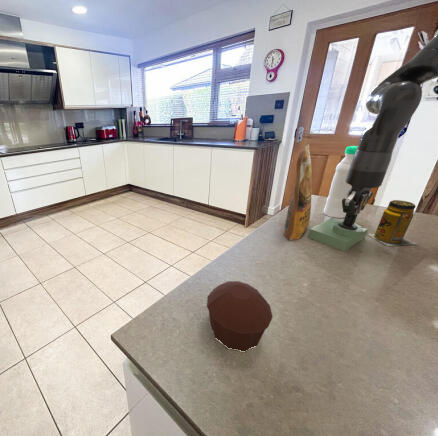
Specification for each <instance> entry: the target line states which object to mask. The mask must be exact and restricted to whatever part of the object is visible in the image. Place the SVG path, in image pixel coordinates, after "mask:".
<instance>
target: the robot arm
mask: <svg viewBox="0 0 438 436" xmlns="http://www.w3.org/2000/svg"><path fill="white" fill-rule="evenodd" d="M437 78H438V33H437V34H436V35H435V36H433V37H432V38H431V39H430V40H429V41H428V42H427V43H426V44H425V45H424V46H423V47H422V48H421V49H419V51H417V52H416V54H415V55H414V56H413V57H412V58H411V59H410V60H408V61H407V62H406V63H404V64H403V65H401V66H400V67H399V68H397V69H396V70H395V71H393V73H391V74H389V75H388V76H387V77H385V79H383V80H382V81H381V82H380V83H379V84H377V86H375V87H374V89H372V91H371V92H370V93H369V95H368V96H367V99H366V102H365V108H366V110H367V111H368V112H369V113H371V114H374V115H376V117H375V119H374V122H373V123H372V124H371V125H369V126H367V127H365V128H364V129H363V131H362V132H361V135H360V138H359V141H358V144H357V146H358V147H357V150H356V152H355V154H354V156H353V159H352V162H351V165H350V168H349V172H348V175H347V178H346V183H347V184H350V185H351V186H352V188H351V189H350V190H349V191H348V194H347V199H343V200H342V208H343V212H344V213H346V216H345V217H344V219H343V221H344V222H343V224H344V225H347V226H352V225H354V224H356V220H357V217H358V215H359V214H360V213H361V211H363V210H364V209H365V208H366V206H367V204H368V202H370V199H371V198H372V196H373V195H374V192H373V191H371V189H376V188H379V187H381V186H382V185H383V182H384V179H385V177H386V174H387V171H388V169H389V166H390V165H391V161H392V156H393V153H394V149H395V147H396V145H397V142H398V140H399V137H400V134H401V133H402V131H403V130H404V129H405V127H406V126H407V124H408V123H409V121H410V119H411V118H412V117H413V116H414V115H415V112H416V111H417V109H418V108H419V106H420V104H421V102H422V99H423V87H422V85H423V84H425V83H428V82H429V81H432V80H435V79H437Z"/></svg>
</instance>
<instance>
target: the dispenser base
mask: <svg viewBox="0 0 438 436" xmlns="http://www.w3.org/2000/svg"><path fill="white" fill-rule="evenodd" d="M341 222H344V220H339V219H337V218H333V217H330V218H329V219H327V220H325V221H323V222H321V223H319V224H317V225H315V226H312V227H311V228H309V231H308V235H307V238H308V239H309V240H313V241H316V242H317V243H321V244H323V245H326V246H329V247H331V248H333V249H336V250H339V251H341V252H346V251H347V250H349V249H351V248H352V247H353V246H355V245H356V244H358V243H360V242H362V241H363V240H365V238H366V236H367V234H368V231H369V228H366V227H363V226H361V225H359V224H357V223H354V224H355V225H356V226H357V228H356V230H349V229H344V228H342V227H340V226H339V225H340V223H341Z"/></svg>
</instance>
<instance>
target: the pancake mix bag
mask: <svg viewBox="0 0 438 436" xmlns="http://www.w3.org/2000/svg"><path fill="white" fill-rule="evenodd" d="M310 145H311V143H310V142H309V143H307V144H306V145H305V146H303V148H302V149H301V151H299V152H298V153H299V154H298V158H297V162H296V173H295V174H296V175H295V182H294V185H293V189H292V193H291V196H290V199H289V203H288V207H287V213H286V218H285V222H284V223H285V224H284V232H283V237H284V238H285V239H286V240H287V241H289V242H291V241H292V240H297V241H298V240H299V239H301V238H302V236H303V234H304V233H305V231H306V230H307V228H308V227H309V225H310V221H311V214H312V213H311V212H312V185H313V180H312V176H313V171H312V170H313V168H312V160H311V159H312V158H311V153H310Z"/></svg>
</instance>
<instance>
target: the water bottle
mask: <svg viewBox="0 0 438 436" xmlns="http://www.w3.org/2000/svg"><path fill="white" fill-rule="evenodd" d="M357 147H358V145H349V146H347V147H346V148H345V150H344V155H345V156H344V157H343V158H342V159H341V161H340V162H339V163H338V164H337V165H336V167H335V173H334V174H333V177H332V181H331V184H330V188H329V191H328V192H329V193H328V195H327V199H326V201H325V202H326V203H325V206H324V208H323V214H324V215H325V216H328V217H330V218H333V219H342V218H344V219H345V216H346V213H344V212H343V208H342V200H343V199H347V194H348V191H349V190H350V189H351V188H352V186H351V185H350V184H347V183H346V178H347V175H348V172H349V168H350V165H351V162H352V159H353V156H354V154H355V152H356V150H357Z"/></svg>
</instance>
